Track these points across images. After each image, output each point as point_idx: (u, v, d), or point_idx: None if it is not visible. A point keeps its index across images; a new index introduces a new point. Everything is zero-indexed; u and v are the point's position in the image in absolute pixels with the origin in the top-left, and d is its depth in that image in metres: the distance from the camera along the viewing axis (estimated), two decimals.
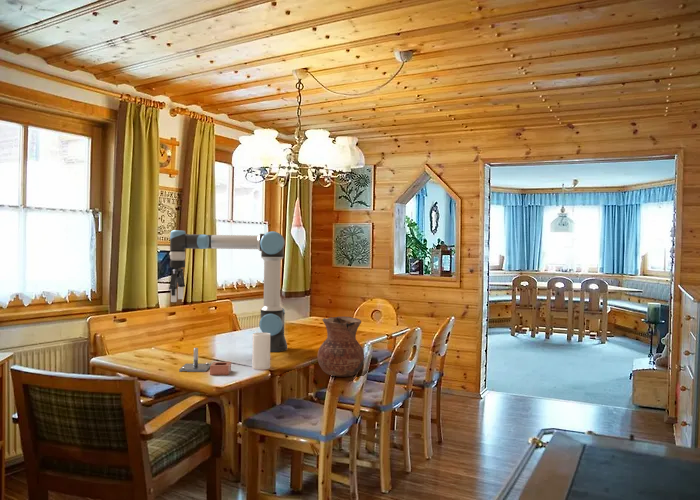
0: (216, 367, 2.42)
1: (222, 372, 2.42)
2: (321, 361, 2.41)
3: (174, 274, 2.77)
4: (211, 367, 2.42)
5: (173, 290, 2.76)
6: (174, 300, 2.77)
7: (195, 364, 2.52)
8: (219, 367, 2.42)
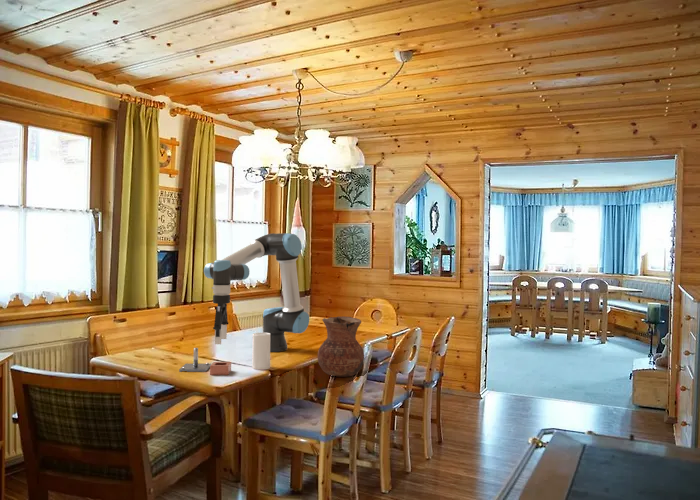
0: (216, 367, 2.42)
1: (222, 372, 2.42)
2: (321, 361, 2.41)
3: (219, 312, 2.38)
4: (211, 367, 2.42)
5: (218, 331, 2.37)
6: (219, 342, 2.38)
7: (195, 364, 2.52)
8: (219, 367, 2.42)
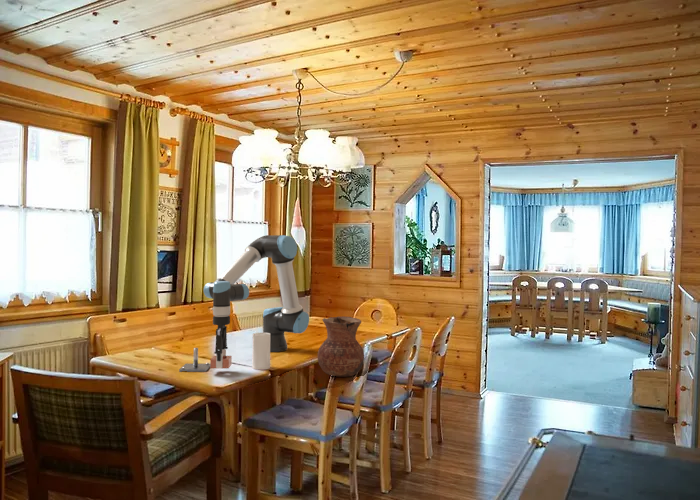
0: None
1: None
2: (321, 361, 2.41)
3: (219, 336, 2.39)
4: (211, 361, 2.42)
5: (219, 355, 2.40)
6: (220, 366, 2.41)
7: (195, 364, 2.52)
8: None
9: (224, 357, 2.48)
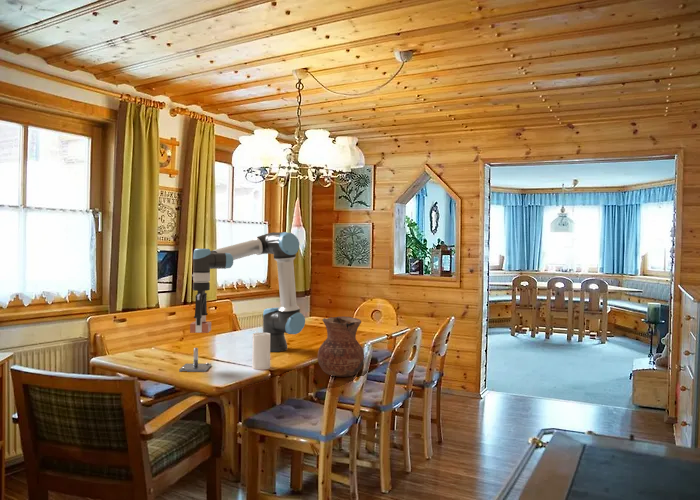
0: None
1: (202, 330, 2.49)
2: (321, 361, 2.41)
3: (199, 301, 2.46)
4: (191, 325, 2.49)
5: (198, 319, 2.47)
6: (199, 330, 2.48)
7: (195, 364, 2.52)
8: None
9: (204, 323, 2.55)
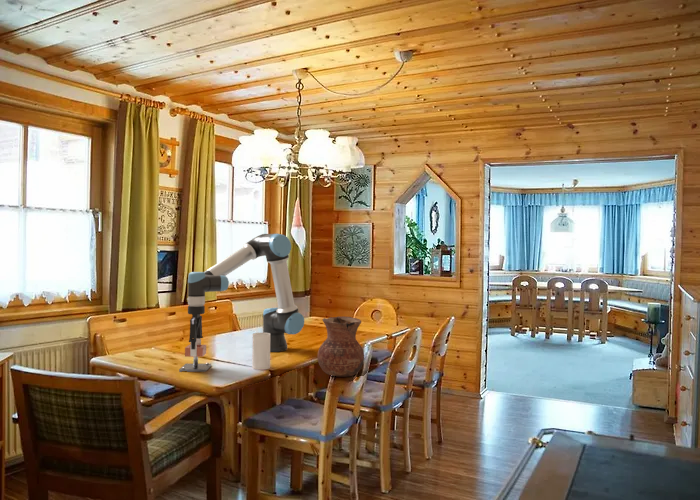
0: None
1: None
2: (321, 361, 2.41)
3: (193, 325, 2.46)
4: (186, 349, 2.49)
5: (193, 343, 2.47)
6: (194, 354, 2.48)
7: (195, 364, 2.52)
8: None
9: (199, 346, 2.55)
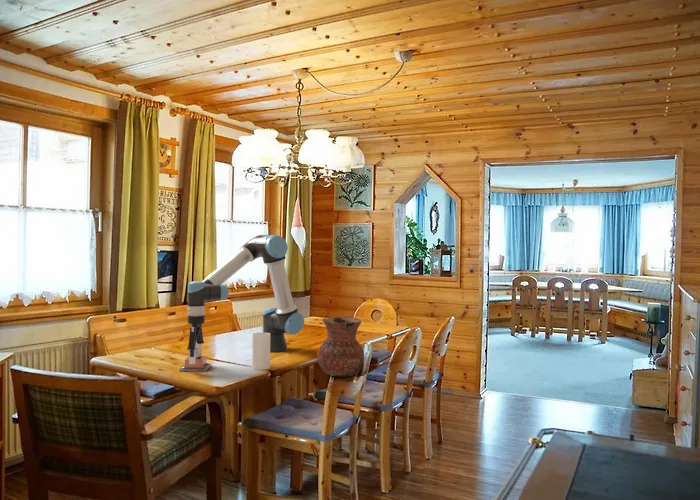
0: None
1: (196, 366, 2.49)
2: (321, 361, 2.41)
3: (193, 333, 2.46)
4: (186, 361, 2.49)
5: (192, 351, 2.45)
6: (193, 362, 2.46)
7: None
8: None
9: (199, 357, 2.56)
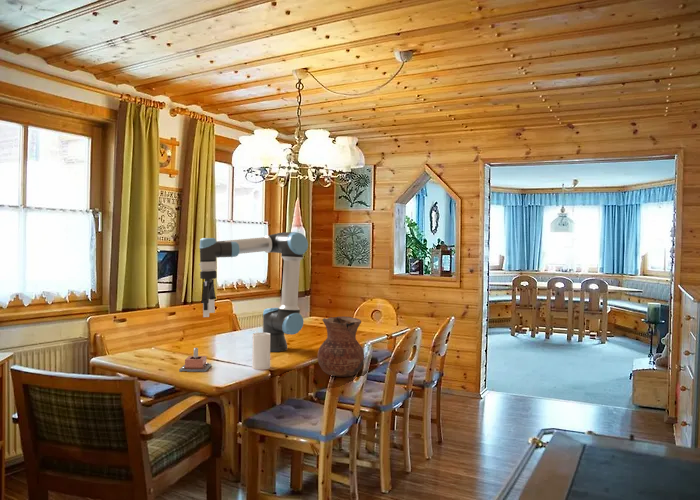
0: (191, 361, 2.49)
1: (196, 366, 2.49)
2: (321, 361, 2.41)
3: (206, 286, 2.53)
4: (186, 361, 2.49)
5: (206, 304, 2.52)
6: (207, 315, 2.53)
7: None
8: (194, 361, 2.49)
9: (199, 357, 2.56)
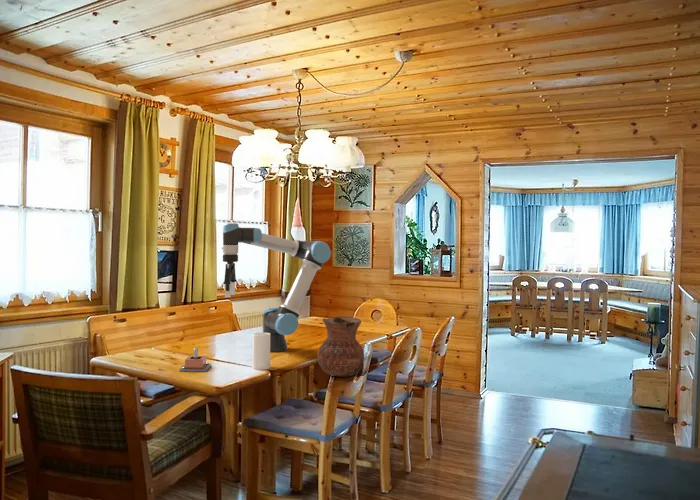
0: (191, 361, 2.49)
1: (196, 366, 2.49)
2: (321, 361, 2.41)
3: (228, 268, 2.67)
4: (186, 361, 2.49)
5: (227, 285, 2.66)
6: (228, 295, 2.67)
7: None
8: (194, 361, 2.49)
9: (199, 357, 2.56)
